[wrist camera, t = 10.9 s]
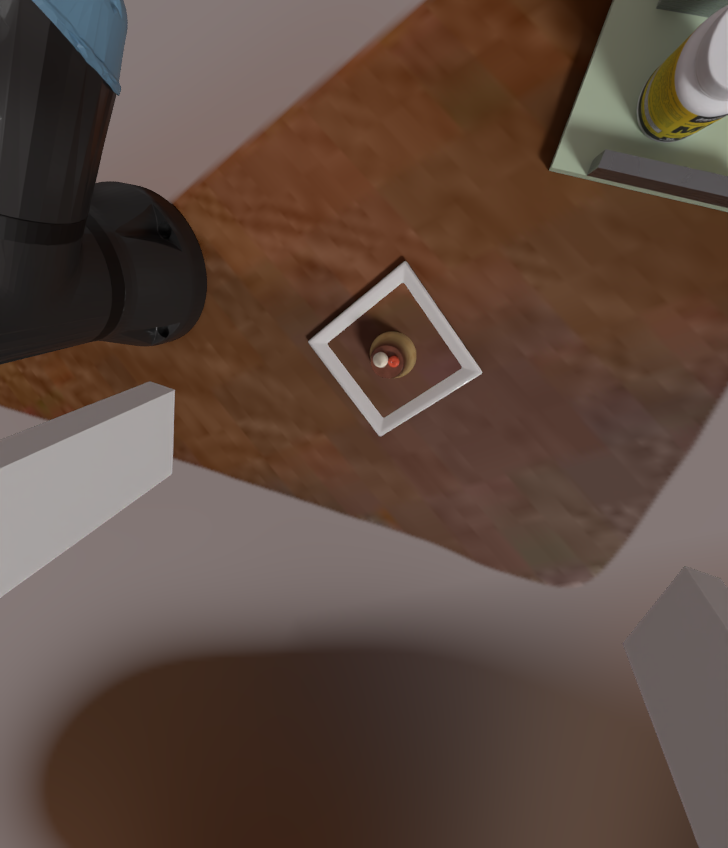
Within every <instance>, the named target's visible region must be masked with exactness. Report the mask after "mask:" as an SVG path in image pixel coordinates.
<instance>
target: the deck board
mask: <svg viewBox="0 0 728 848" xmlns="http://www.w3.org/2000/svg"><path fill="white" fill-rule="evenodd" d="M658 2H659V0H613V1H612V4H611V6H610V9H609V12H608V14H607V17H606V20H605V22H604V25H603V28H602V30H601V33H600V36H599V38H598V41H597V43H596V46H595V49H594V51H593V54H592V57H591V59H590V62H589V65H588V67H587V70H586V73H585V75H584V78H583V81H582V83H581V86H580V89H579V91H578V94H577V97H576V99H575V102H574V105H573V107H572V110H571V113H570V115H569V118H568V121H567V123H566V126H565V129H564V131H563V134H562V137H561V139H560V142H559V145H558V147H557V150H556V153H555V155H554V158H553V160H552V163H551V166H550V168H549V171H553V172H557V173H562V174H566V175H570V176H575V177H579V178H583V179H587V180H592V181H596V182H600V183H605V184H609V185H613V186H618V187H622V188H626V189H631V190H635V191H639V192H644V193H648V194H652V195H656V196H661V197H665V198H669V199H674V200H678V201H682V202H687V203H691V204H695V205H700V206H704V207H708V208H713V209H717V210H721V211H725V212H728V208H725V207H721V206H717V205H712V204H708V203H704V202H699V201H695V200H691V199H686V198H682V197H678V196H673V195H669V194H664V193H660V192H656V191H651V190H647V189H643V188H638V187H634V186H630V185H625V184H621V183H617V182H612V181H608V180H604V179H599V178H595V177H591V176H587V173H588V171H589V169H590V166H591V164H592V161H593V159H594V158H596V157H597V156H598V155H599V154H600V153H602V152H603V151H604V150H605V149H607V150H611V151H616V152H620V153H625V154H629V155H634V156H638V157H643V158H647V159H652V160H656V161H661V162H666V163H670V164H675V165H679V166H684V167H688V168H693V169H697V170H702V171H706V172H711V173H715V174H720V175H724V176H728V115H727V116H725V117H723V118H722V119H720V120H718V121H716V122H714V123H713V124H711V125H709V126H707V127H705V128H703V129H702V130H700V131H698V132H697V133H695V134H693V135H691V136H689V137H687V138H685V139H682V140H679V141H675V142H669V143H663V142H657V141H654V140H652V139H650V138H648V137H647V136H646V135H645V134H644V133H643V132H642V130H641V128H640V127H639V124H638V121H637V103H638V99H639V95H640V93H641V91H642V88H643V87H644V85H645V83H646V81H647V80H648V79H649V77H650V76H651V75H652V74H653V72H654V71H655V70H656V69H657V68H658V67H659V66H660V65H661V64H662V63H663V62H664V61H665V60H666V59H667V58H668V57H669V56H670V55H671V54H672V53H673V52H674V51H675V50H676V49H677V48H678V47H679V46H680V45H681V44H682V43H683V42H684V41H685V40H686V39H687V38H688V37H689V36H690V35H691V34H692V33H693V32H694V31H695V30H696V29H697V28H698V27H699V26H700V25H701V24H702V23H703V22H704V21H705V20H706V19H708V17H702V16H696V15H690V14H685V13H679V12H673V11H667V10H662V9H656V7H657V4H658Z"/></svg>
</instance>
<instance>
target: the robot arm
mask: <svg viewBox="0 0 728 848" xmlns="http://www.w3.org/2000/svg"><path fill="white" fill-rule="evenodd" d="M127 23H128V22H127V13H126V8H125V5H124V1H123V0H0V364H4V363H8V362H12V361H16V360H20V359H24V358H28V357H32V356H36V355H40V354H44V353H48V352H52V351H56V350H60V349H64V348H68V347H72V346H76V345H80V344H84V343H88V342H93V341H106V342H113V343H120V344H128V345H135V346H155V345H159V344H163V343H167V342H170V341H173V340H176V339H178V338H180V337H182V336H184V335H185V334H186V333H188V332H189V331H190V330H191V329H192V328H193V326H194V325H195V324H196V322H197V321H198V319H199V317H200V315H201V313H202V310H203V307H204V303H205V299H206V291H207V277H206V268H205V263H204V259H203V255H202V252H201V249H200V246H199V244H198V241H197V239H196V237H195V235H194V233H193V231H192V229H191V228H190V226H189V225H188V223H187V222H186V220H185V219H184V217H183V216H182V215H181V214H180V213H179V211H178V210H177V209H176V208H175V207H174V206H173V205H172V204H171V203H169V202H168V201H167V200H166V199H164V198H163V197H162V196H160V195H159V194H157V193H155V192H153V191H151V190H149V189H147V188H144V187H141V186H136V185H131V184H125V183H120V182H99V183H95V182H96V177H97V173H98V169H99V164H100V160H101V155H102V150H103V147H104V142H105V138H106V134H107V130H108V126H109V122H110V118H111V114H112V110H113V106H114V102H115V98H116V94H117V95H118V96H119V94H120V92H121V86H120V84H119V77H120V70H121V63H122V57H123V50H124V45H125V39H126V34H127ZM174 399H175V390H173V389H171V388H168V387H165V386H162V385H159V384H156V383H153V382H147V383H145V384H142V385H139V386H137V387H134V388H132V389H129V390H127V391H124V392H121V393H119V394H116V395H114V396H111V397H109V398H106V399H103V400H101V401H98V402H96V403H93V404H91V405H88V406H85V407H83V408H80V409H78V410H75V411H73V412H70V413H67V414H65V415H62V416H60V417H57V418H55V419H52V420H49V421H47V422H44V423H42V424H39V425H37V426H34V427H32V428H29V429H26V430H24V431H22V432H19V433H17V434H14V435H11V436H8V437H6V438H3V439H1V440H0V598H1V597H2V596H3V595H5V594H6V593H8V592H9V591H10V590H12V589H13V588H14V587H16V586H17V585H19V584H20V583H21V582H23V581H24V580H26V579H27V578H28V577H30V576H31V575H32V574H34V573H35V572H37V571H38V570H39V569H41V568H42V567H43V566H45V565H46V564H48V563H49V562H51V561H52V560H53V559H54V558H56V557H57V556H59V555H60V554H62V553H63V552H64V551H66V550H67V549H68V548H70V547H71V546H73V545H74V544H76V543H77V542H78V541H80V540H81V539H82V538H84V537H85V536H87V535H88V534H89V533H91V532H92V531H94V530H95V529H96V528H98V527H99V526H101V525H102V524H103V523H105V522H106V521H107V520H109V519H110V518H112V517H113V516H114V515H116V514H117V513H119V512H120V511H121V510H123V509H124V508H126V507H127V506H128V505H130V504H131V503H132V502H134V501H135V500H137V499H138V498H139V497H141V496H142V495H144V494H145V493H146V492H148V491H149V490H150V489H152V488H153V487H155V486H156V485H157V484H159V483H160V482H162V481H163V480H164V479H166V478H167V477H168V476H170V475H171V474H172V466H173V433H174ZM623 646H624V649H625V651H626V654H627V657H628V659H629V662H630V664H631V667H632V670H633V673H634V675H635V678H636V681H637V683H638V686H639V688H640V691H641V694H642V697H643V699H644V702H645V705H646V707H647V710H648V712H649V715H650V718H651V721H652V723H653V726H654V729H655V731H656V734H657V736H658V739H659V742H660V745H661V747H662V750H663V752H664V755H665V758H666V761H667V763H668V766H669V768H670V771H671V774H672V777H673V779H674V782H675V785H676V787H677V790H678V793H679V795H680V798H681V800H682V803H683V806H684V809H685V811H686V814H687V817H688V819H689V822H690V825H691V827H692V830H693V833H694V835H695V838H696V841H697V843H698V846H699V848H728V588H727V587H726V585H725V584H724V582H723V581H722V580H721V579H720V578H718V577H715V576H712V575H709V574H706V573H704V572H701V571H698V570H695V569H692V568H689V567H686V566H685V567H683V569H682V570H681V571H680V573H679V574H678V575H677V576H676V577H675V579H674V580H673V581H672V582H671V584H670V585H669V586H668V587H667V589H666V590H665V591H664V592H663V594H662V595H661V596H660V597H659V599H658V600H657V601H656V602H655V604H654V605H653V606H652V608H651V609H650V610H649V611H648V612H647V614H646V615H645V616H644V617H643V619H642V620H641V621H640V622H639V624H638V625H637V626H636V627H635V629H634V630H633V631H632V632H631V634H630V635H629V636H628V637H627V639H626V640H625V641H624V642H623Z"/></svg>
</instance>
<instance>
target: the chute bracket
mask: <svg viewBox="0 0 728 848" xmlns="http://www.w3.org/2000/svg"><path fill="white" fill-rule="evenodd" d="M727 5H728V0H659V2H658V4H657V7H656V9H662V10H667V11H673V12H679V13H685V14H690V15H696V16H702V17H708V18H709V17H710V16H711V15H713V14H714V13H715V12H717V11H718V10H720V9H721V8H723V7H725V6H727ZM587 176H591V177H595V178H599V179H604V180H608V181H612V182H617V183H621V184H625V185H630V186H634V187H638V188H643V189H647V190H651V191H656V192H660V193H664V194H669V195H673V196H678V197H682V198H686V199H691V200H695V201H699V202H704V203H708V204H712V205H717V206H721V207H725V208H728V176H724V175H720V174H715V173H711V172H706V171H702V170H697V169H693V168H688V167H684V166H679V165H675V164H670V163H666V162H661V161H656V160H652V159H647V158H643V157H638V156H634V155H629V154H625V153H620V152H616V151H611V150H607V149H605V150H604V151H603V152H602V153H600V154H599V155H598V156H597V157H596V158H594V159H593V161H592V164H591V166H590V169H589V171H588V173H587Z"/></svg>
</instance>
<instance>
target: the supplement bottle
mask: <svg viewBox="0 0 728 848" xmlns="http://www.w3.org/2000/svg"><path fill="white" fill-rule="evenodd" d="M727 115H728V5H727V6H725V7H723V8H721V9H720V10H718V11H717V12H715V13H714V14H713V15H711V16H710V17H709V18H708V19H706V20H705V21H704V22H703V23H702V24H701V25H700V26H699V27H698V28H697V29H696V30H695V31H694V32H693V33H692V34H691V35H690V36H689V37H688V38H687V39H686V40H685V41H684V42H683V43H682V44H681V45H680V46H679V47H678V48H677V49H676V50H675V51H674V52H673V53H672V54H671V55H670V56H669V57H668V58H667V59H666V60H665V61H664V62H663V63H662V64H661V65H660V66H659V67H658V68H657V69H656V70H655V71H654V72H653V74H652V75H651V76H650V77H649V79H648V80H647V81H646V83H645V85H644V87H643V88H642V91H641V93H640V95H639V99H638V103H637V121H638V124H639V127H640V128H641V130H642V132H643V133H644V134H645V135H646V136H647V137H648V138H650V139H652V140H654V141H657V142H663V143H669V142H675V141H679V140H682V139H685V138H687V137H689V136H691V135H693V134H695V133H697V132H698V131H700V130H702V129H703V128H705V127H707V126H709V125H711V124H713V123H714V122H716V121H718V120H720V119H722V118H723V117H725V116H727Z"/></svg>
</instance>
